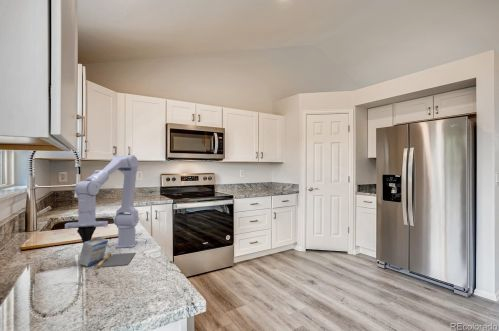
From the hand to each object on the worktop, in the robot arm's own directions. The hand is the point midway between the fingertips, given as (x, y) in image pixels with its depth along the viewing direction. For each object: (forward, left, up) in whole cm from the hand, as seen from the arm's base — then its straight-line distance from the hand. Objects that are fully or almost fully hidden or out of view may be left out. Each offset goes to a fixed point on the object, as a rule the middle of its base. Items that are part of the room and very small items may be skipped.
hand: (86, 245), depth 98 cm
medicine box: (0, +1, -6) cm, 7 cm away
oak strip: (0, +6, -7) cm, 9 cm away
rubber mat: (-1, +12, -7) cm, 14 cm away
